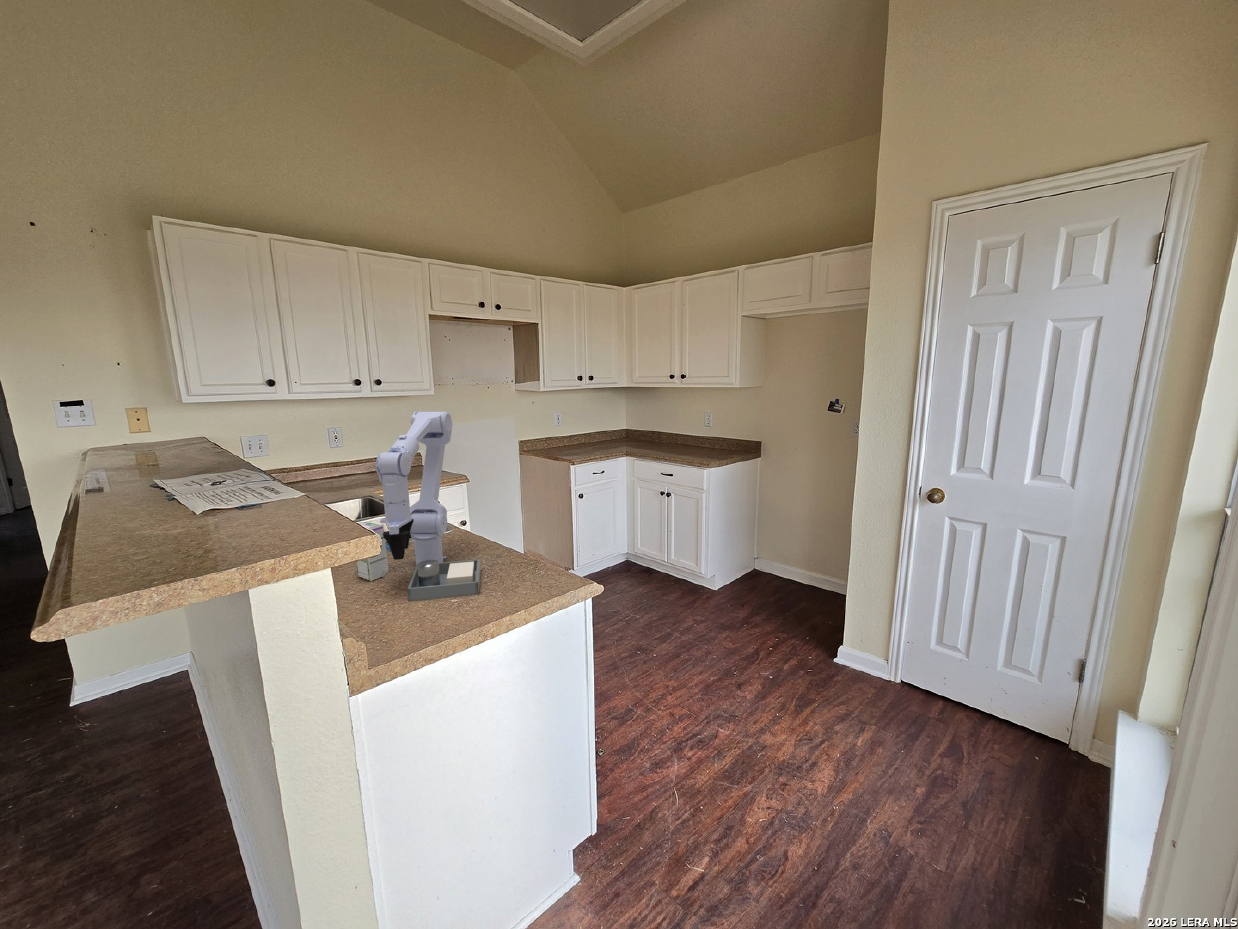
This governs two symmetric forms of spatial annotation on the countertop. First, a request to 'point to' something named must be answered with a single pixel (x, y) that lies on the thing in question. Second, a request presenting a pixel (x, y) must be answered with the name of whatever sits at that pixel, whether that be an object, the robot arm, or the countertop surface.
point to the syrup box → (378, 564)
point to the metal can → (428, 573)
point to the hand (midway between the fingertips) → (401, 553)
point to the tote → (444, 584)
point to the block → (460, 573)
